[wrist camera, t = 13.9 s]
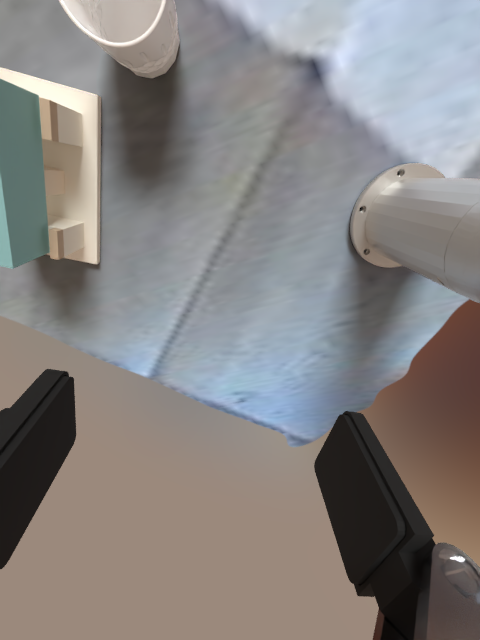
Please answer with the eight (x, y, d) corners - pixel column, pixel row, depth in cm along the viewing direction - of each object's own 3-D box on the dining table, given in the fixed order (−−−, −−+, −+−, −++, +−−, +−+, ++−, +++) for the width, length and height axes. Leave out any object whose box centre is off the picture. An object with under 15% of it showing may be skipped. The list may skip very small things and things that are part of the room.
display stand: (101, 97, 29) (67, 75, 23) (99, 262, 37) (74, 280, 31) (-4, 67, 28) (-72, 35, 22) (17, 245, 36) (-28, 261, 29)
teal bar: (38, 95, 24) (-14, 72, 19) (49, 252, 30) (13, 268, 25) (-13, 81, 24) (-81, 53, 18) (9, 244, 30) (-37, 259, 25)
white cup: (201, 55, 28) (190, 0, 19) (139, 103, 30) (103, 72, 21) (151, -47, 25) (111, -170, 16) (84, 13, 26) (14, -69, 18)
